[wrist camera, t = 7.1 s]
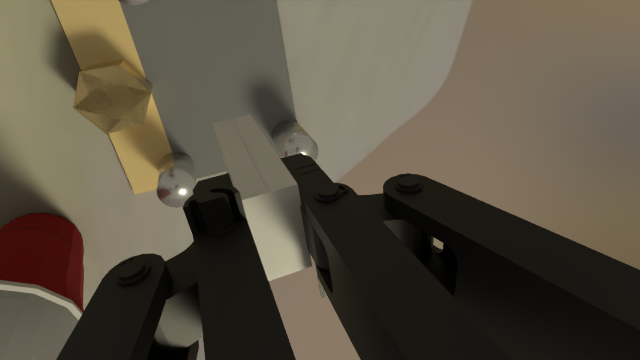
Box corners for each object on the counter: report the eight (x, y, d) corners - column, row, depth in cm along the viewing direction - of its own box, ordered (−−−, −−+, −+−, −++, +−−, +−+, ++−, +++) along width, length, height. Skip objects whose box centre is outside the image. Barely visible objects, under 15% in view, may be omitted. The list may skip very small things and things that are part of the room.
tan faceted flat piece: (93, 127, 28) (87, 137, 26) (67, 69, 26) (58, 75, 24) (162, 112, 29) (161, 121, 27) (142, 56, 27) (139, 61, 25)
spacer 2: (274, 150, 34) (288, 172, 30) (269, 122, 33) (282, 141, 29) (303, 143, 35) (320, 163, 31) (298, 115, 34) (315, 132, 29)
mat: (135, 192, 32) (134, 194, 31) (38, -34, 24) (36, -34, 23) (300, 150, 35) (301, 151, 35) (265, -60, 27) (266, -60, 27)
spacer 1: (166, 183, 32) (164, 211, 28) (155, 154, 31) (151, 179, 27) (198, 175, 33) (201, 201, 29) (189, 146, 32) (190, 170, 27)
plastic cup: (76, 308, 35) (34, 437, 24) (-65, 264, 29) (-196, 408, 19) (144, 223, 33) (128, 323, 23) (9, 160, 28) (-90, 255, 17)
